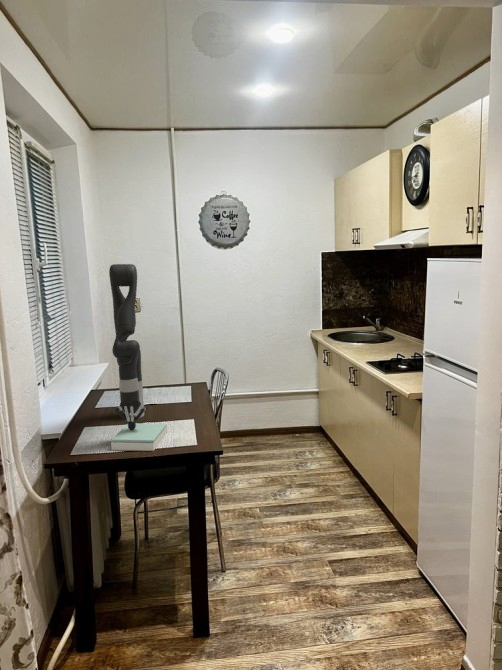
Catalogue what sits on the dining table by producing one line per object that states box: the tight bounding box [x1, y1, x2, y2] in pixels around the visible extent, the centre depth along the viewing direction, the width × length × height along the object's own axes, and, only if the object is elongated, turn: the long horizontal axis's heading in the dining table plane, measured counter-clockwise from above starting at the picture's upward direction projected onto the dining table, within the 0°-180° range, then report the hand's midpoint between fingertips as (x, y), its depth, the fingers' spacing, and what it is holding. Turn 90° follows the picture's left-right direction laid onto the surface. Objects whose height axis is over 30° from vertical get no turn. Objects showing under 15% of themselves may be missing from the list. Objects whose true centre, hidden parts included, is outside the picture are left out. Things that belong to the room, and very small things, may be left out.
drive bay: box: [110, 425, 168, 452], centre depth 198 cm, size 19×17×3 cm
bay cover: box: [110, 423, 168, 443], centre depth 197 cm, size 18×17×1 cm
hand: (132, 429), depth 200 cm, fingers closed
